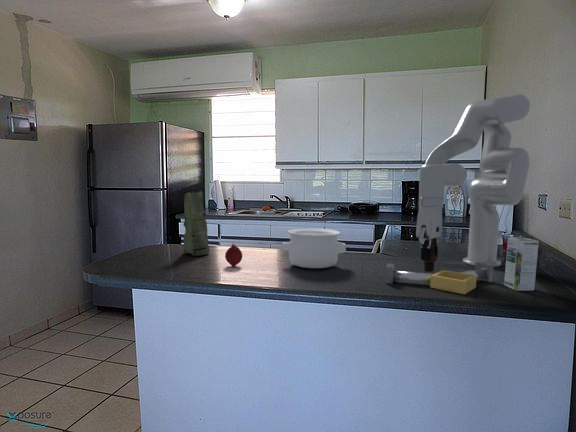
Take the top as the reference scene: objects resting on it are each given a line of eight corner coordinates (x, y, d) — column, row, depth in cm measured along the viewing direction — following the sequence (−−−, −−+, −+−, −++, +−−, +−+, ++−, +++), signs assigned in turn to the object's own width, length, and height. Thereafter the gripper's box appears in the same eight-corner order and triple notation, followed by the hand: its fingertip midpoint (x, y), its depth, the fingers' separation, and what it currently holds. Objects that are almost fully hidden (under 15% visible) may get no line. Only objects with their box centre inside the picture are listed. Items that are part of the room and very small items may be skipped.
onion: (245, 265, 137) (245, 242, 136) (236, 269, 132) (236, 245, 131) (231, 263, 139) (231, 241, 139) (221, 267, 134) (221, 244, 133)
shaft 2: (466, 286, 115) (467, 269, 114) (451, 282, 119) (452, 265, 119) (492, 281, 120) (493, 265, 120) (478, 277, 125) (479, 262, 124)
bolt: (438, 273, 126) (440, 227, 124) (421, 273, 127) (423, 227, 125) (435, 269, 132) (436, 224, 130) (419, 268, 133) (420, 224, 131)
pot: (342, 261, 146) (343, 229, 144) (347, 273, 128) (348, 236, 127) (283, 260, 147) (283, 227, 145) (280, 271, 130) (280, 234, 128)
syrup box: (503, 285, 116) (506, 236, 115) (522, 285, 117) (525, 236, 115) (515, 291, 111) (519, 240, 109) (535, 290, 111) (539, 240, 110)
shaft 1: (433, 283, 117) (434, 266, 117) (434, 287, 113) (435, 270, 112) (386, 279, 121) (387, 263, 121) (385, 283, 117) (386, 266, 116)
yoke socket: (442, 281, 120) (443, 269, 120) (475, 287, 114) (476, 275, 113) (430, 287, 113) (430, 275, 113) (464, 294, 107) (465, 281, 106)
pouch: (185, 258, 148) (184, 191, 145) (177, 252, 158) (176, 190, 156) (214, 255, 153) (213, 191, 151) (204, 250, 164) (204, 190, 161)
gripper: (430, 200, 135) (428, 253, 137) (408, 204, 123) (406, 261, 125) (452, 201, 130) (450, 256, 132) (431, 205, 118) (429, 265, 120)
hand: (429, 258), depth 129 cm, fingers closed on bolt, 4 cm apart
